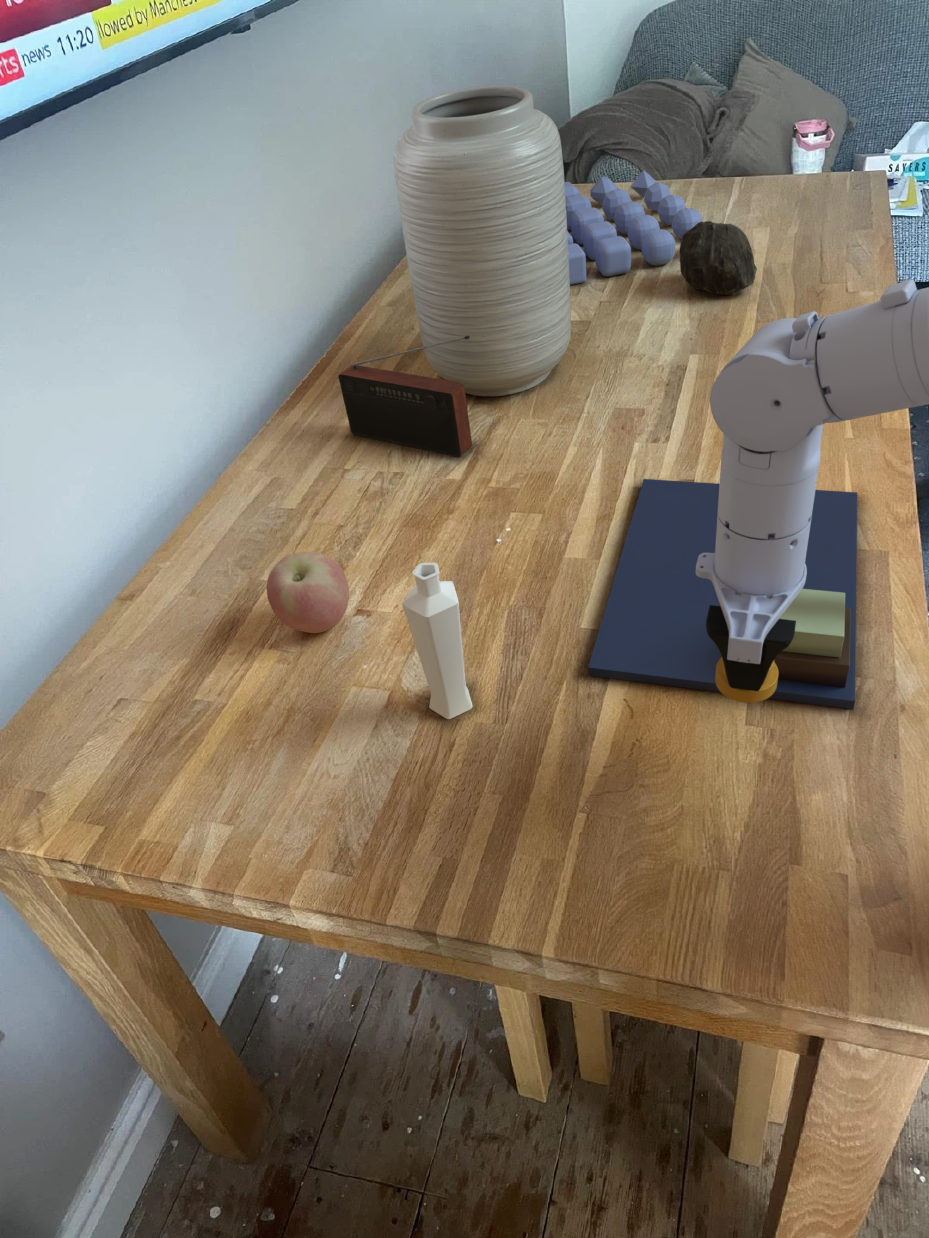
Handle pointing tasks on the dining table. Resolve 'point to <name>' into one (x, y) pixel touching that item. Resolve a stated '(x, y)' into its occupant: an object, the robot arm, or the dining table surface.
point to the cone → (746, 695)
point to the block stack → (817, 639)
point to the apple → (308, 592)
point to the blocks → (623, 226)
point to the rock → (717, 258)
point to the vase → (486, 237)
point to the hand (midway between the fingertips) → (748, 665)
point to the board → (706, 590)
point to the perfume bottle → (438, 639)
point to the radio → (406, 408)
